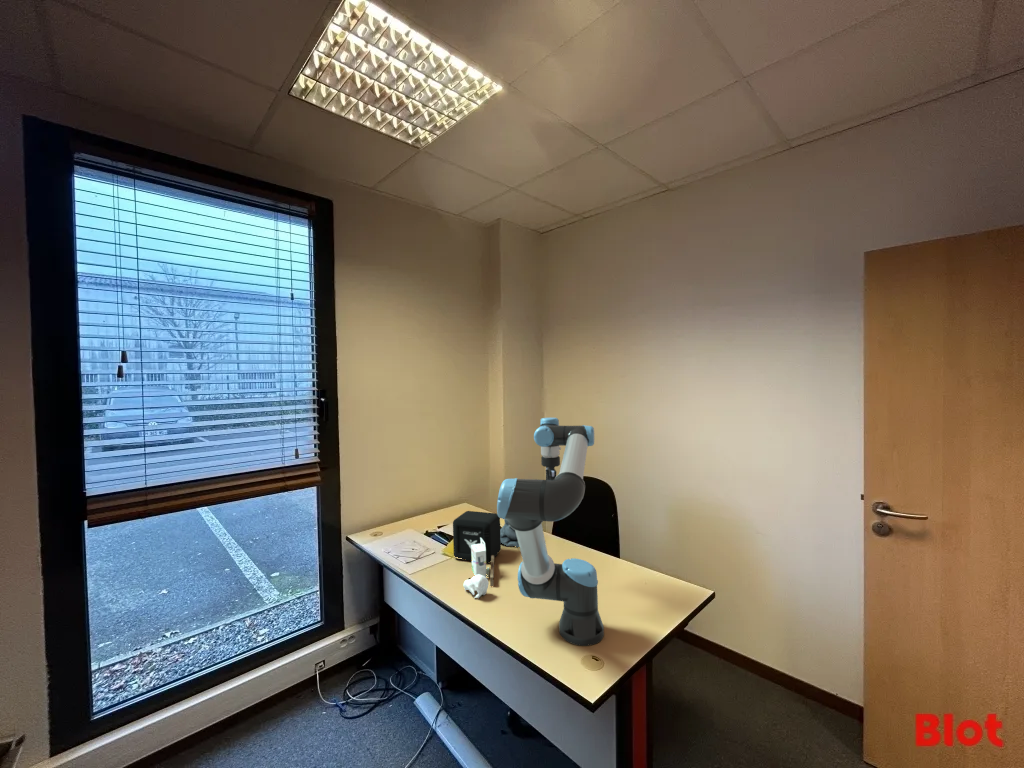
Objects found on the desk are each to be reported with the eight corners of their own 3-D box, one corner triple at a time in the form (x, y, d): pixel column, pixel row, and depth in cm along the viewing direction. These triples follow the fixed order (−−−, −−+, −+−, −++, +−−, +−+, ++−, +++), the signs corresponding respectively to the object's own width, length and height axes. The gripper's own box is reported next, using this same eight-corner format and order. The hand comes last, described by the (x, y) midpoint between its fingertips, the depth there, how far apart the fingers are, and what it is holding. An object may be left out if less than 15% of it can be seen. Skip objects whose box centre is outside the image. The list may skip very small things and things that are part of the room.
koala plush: (527, 549, 208) (526, 511, 208) (493, 547, 211) (492, 510, 211) (531, 536, 225) (531, 501, 225) (500, 535, 228) (499, 500, 228)
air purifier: (451, 560, 198) (450, 519, 198) (464, 548, 211) (463, 510, 211) (489, 565, 191) (488, 523, 191) (500, 553, 205) (499, 513, 205)
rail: (493, 586, 171) (492, 577, 171) (490, 586, 171) (490, 577, 171) (494, 563, 193) (493, 555, 193) (491, 563, 193) (491, 555, 193)
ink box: (471, 570, 185) (470, 538, 185) (481, 568, 187) (480, 536, 187) (476, 578, 177) (475, 545, 177) (487, 576, 179) (486, 543, 179)
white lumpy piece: (478, 579, 160) (458, 573, 167) (480, 601, 159) (459, 594, 167) (489, 573, 164) (469, 568, 172) (491, 595, 164) (471, 588, 172)
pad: (488, 578, 178) (488, 577, 178) (468, 579, 178) (468, 577, 178) (489, 568, 187) (489, 567, 187) (469, 569, 187) (469, 568, 187)
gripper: (564, 461, 152) (565, 517, 152) (555, 450, 177) (556, 498, 177) (544, 462, 152) (546, 518, 152) (538, 450, 177) (539, 499, 177)
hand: (551, 508), depth 164 cm, fingers open, 13 cm apart
